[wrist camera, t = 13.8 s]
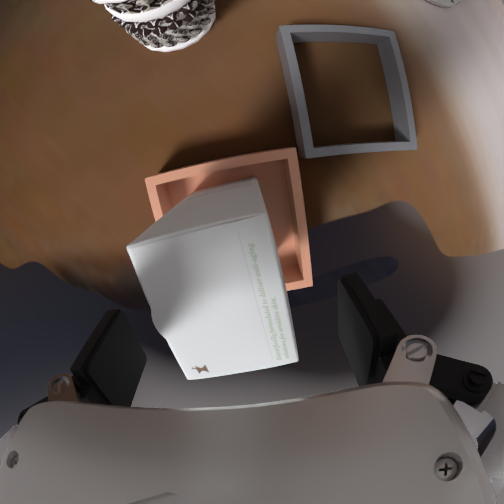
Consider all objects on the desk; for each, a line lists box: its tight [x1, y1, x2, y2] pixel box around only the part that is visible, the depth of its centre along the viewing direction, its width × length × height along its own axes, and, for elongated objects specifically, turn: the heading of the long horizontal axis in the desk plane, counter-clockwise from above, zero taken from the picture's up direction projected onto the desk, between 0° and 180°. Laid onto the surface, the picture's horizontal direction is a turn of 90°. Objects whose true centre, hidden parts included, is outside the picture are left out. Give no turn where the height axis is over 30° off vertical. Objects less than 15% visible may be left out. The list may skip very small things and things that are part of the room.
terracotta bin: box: [145, 147, 313, 291], centre depth 25 cm, size 13×13×4 cm
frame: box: [275, 25, 417, 159], centre depth 21 cm, size 12×13×3 cm
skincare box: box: [127, 176, 298, 380], centre depth 19 cm, size 8×7×16 cm
